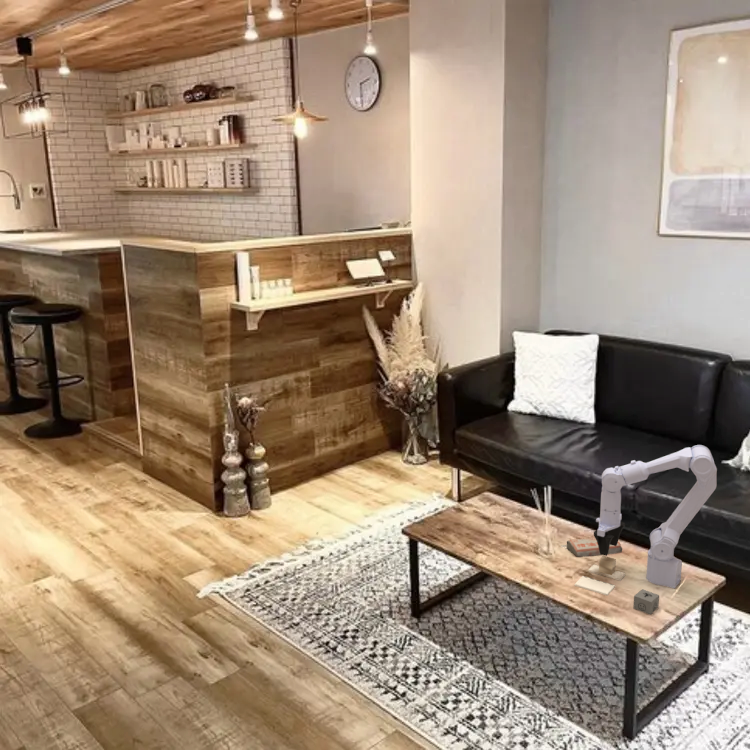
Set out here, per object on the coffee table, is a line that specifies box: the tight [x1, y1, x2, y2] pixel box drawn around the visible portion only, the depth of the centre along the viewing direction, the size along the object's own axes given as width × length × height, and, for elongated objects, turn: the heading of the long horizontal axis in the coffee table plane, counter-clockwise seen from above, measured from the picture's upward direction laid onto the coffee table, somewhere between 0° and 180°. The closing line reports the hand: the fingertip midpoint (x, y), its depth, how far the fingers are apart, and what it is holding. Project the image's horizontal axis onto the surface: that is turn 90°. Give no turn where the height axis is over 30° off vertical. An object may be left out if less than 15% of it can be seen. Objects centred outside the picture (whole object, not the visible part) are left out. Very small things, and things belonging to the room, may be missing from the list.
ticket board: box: [574, 575, 616, 596], centre depth 231 cm, size 18×16×2 cm
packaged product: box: [560, 537, 623, 558], centre depth 250 cm, size 18×5×10 cm
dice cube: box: [633, 589, 660, 616], centre depth 216 cm, size 5×5×5 cm
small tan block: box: [587, 555, 626, 582], centre depth 235 cm, size 10×4×5 cm, turn 53°
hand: (608, 549), depth 234 cm, fingers open, 7 cm apart
